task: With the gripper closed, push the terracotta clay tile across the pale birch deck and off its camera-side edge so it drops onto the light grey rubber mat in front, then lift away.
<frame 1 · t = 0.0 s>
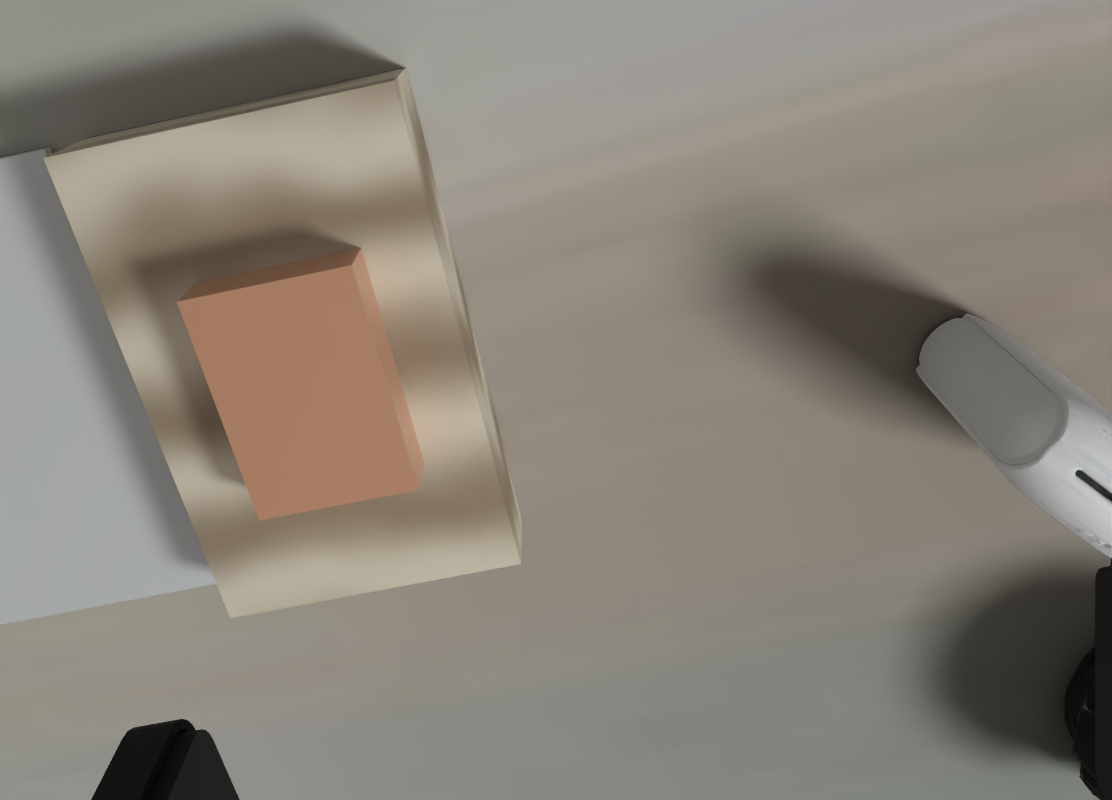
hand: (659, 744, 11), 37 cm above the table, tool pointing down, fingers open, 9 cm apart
photo printer: (1005, 387, 50), on the table
deck: (320, 345, 48), on the table
mat: (2, 410, 49), on the table
tile: (308, 387, 44), point 5 cm above the table, touching deck
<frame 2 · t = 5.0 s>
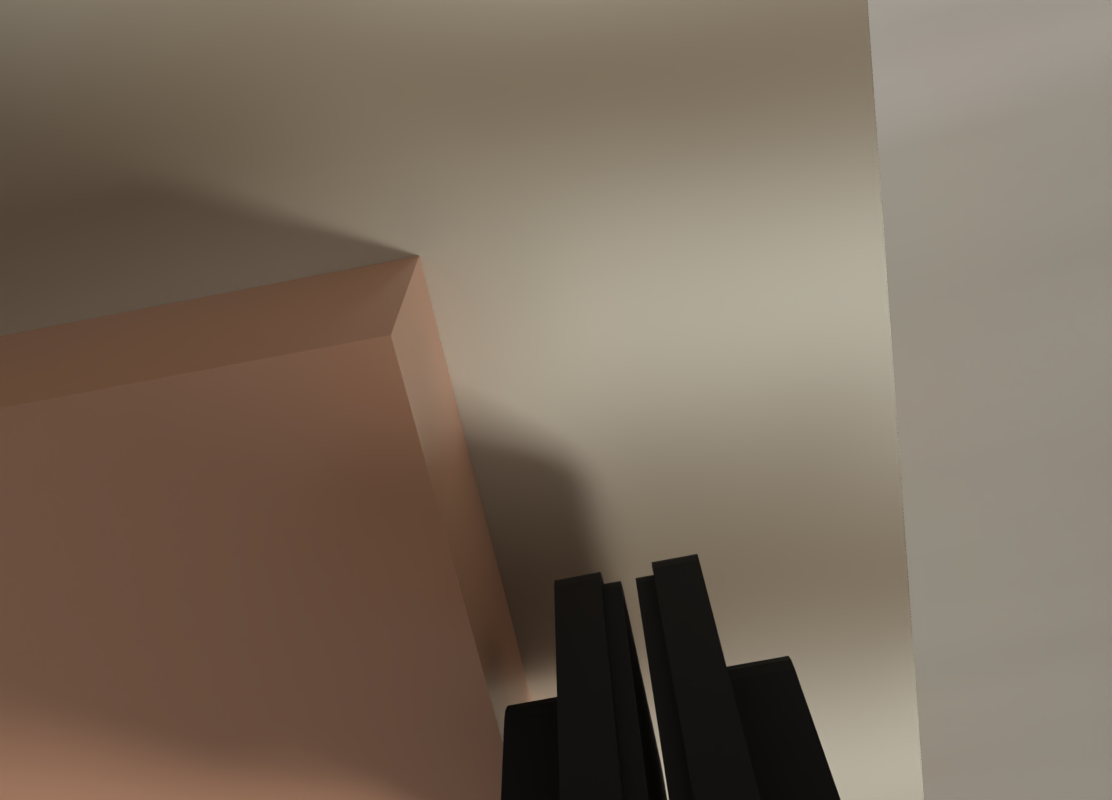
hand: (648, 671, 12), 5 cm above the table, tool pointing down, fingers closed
deck: (394, 497, 17), on the table
tile: (222, 742, 12), point 5 cm above the table, touching gripper
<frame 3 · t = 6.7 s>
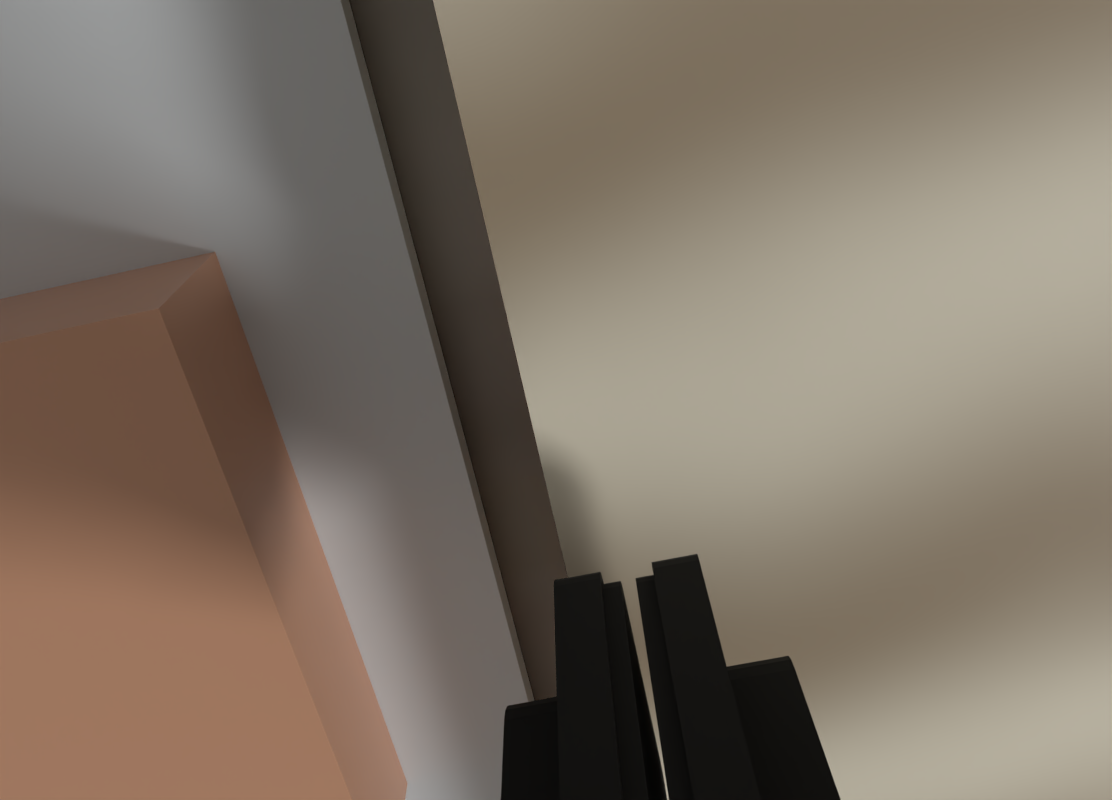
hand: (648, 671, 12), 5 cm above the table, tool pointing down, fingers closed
deck: (1009, 385, 16), on the table
mat: (65, 561, 17), on the table
tile: (85, 636, 16), point 2 cm above the table, tilted 180°, touching mat
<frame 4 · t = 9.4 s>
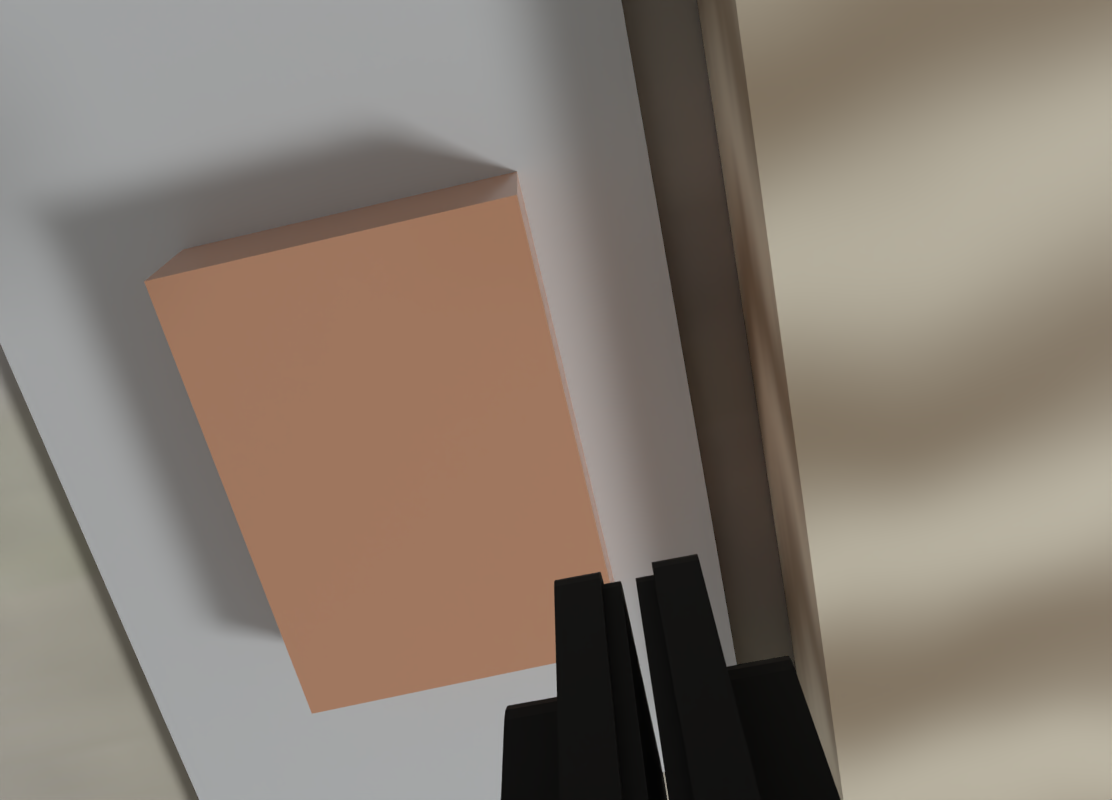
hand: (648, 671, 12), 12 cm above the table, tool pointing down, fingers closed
deck: (1064, 269, 23), on the table
mat: (372, 413, 24), on the table
tile: (410, 454, 22), point 2 cm above the table, tilted 180°, touching mat
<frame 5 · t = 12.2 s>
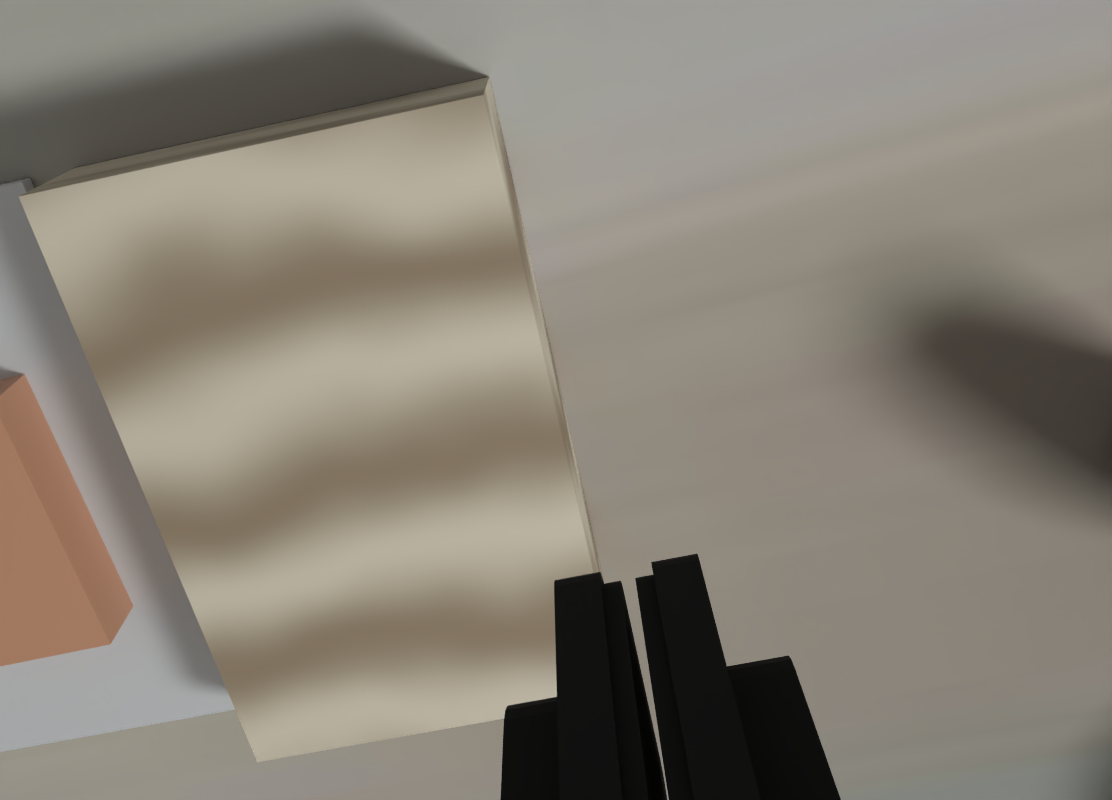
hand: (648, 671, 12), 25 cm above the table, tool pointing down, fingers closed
deck: (371, 423, 38), on the table
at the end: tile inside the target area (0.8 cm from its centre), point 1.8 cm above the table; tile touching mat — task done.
